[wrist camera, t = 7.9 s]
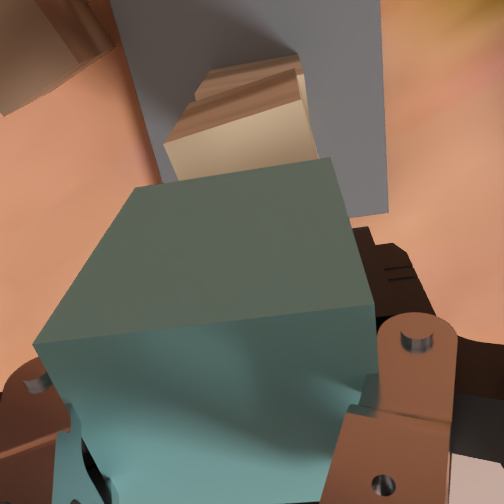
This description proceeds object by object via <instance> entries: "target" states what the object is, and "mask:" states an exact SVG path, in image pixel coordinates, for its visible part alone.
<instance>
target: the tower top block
mask: <svg viewBox="0 0 504 504" xmlns="http://www.w3.org/2000/svg"><path fill="white" fill-rule="evenodd" d="M163 145H164V147H165V150H166V152H167V154H168V157H169V159H170V161H171V164H172V166H173V168H174V171H175V173H176V175H177V178H178V180H179V181H181V180H188V179H194V178H200V177H207V176H213V175H219V174H226V173H232V172H238V171H245V170H251V169H257V168H264V167H270V166H276V165H283V164H289V163H295V162H302V161H308V160H314V159H319V157H318V153H317V149H316V146H315V142H314V138H313V134H312V131H311V127H310V123H309V120H308V116H307V112H306V108H305V105H304V101H303V97H302V94H301V90H300V86H299V82H298V79H297V75H296V71H295V68H293V69H290V70H287V71H284V72H281V73H278V74H275V75H272V76H269V77H266V78H263V79H260V80H257V81H254V82H251V83H248V84H245V85H242V86H239V87H236V88H233V89H230V90H227V91H224V92H221V93H218V94H215V95H212V96H209V97H206V98H204V99H201V100H198V101H195V102H192V103H189V105H188V106H187V108H186V109H185V111H184V112H183V114H182V115H181V117H180V118H179V120H178V122H177V123H176V125H175V126H174V128H173V129H172V131H171V132H170V134H169V135H168V137H167V138H166V140H165V141H164V143H163Z"/></svg>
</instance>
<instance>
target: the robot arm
mask: <svg viewBox="0 0 504 504" xmlns="http://www.w3.org/2000/svg"><path fill="white" fill-rule="evenodd" d="M352 231H353V234H354V237H355V241H356V244H357V247H358V251H359V254H360V257H361V261H362V264H363V267H364V271H365V274H366V277H367V281H368V284H369V287H370V291H371V294H372V297H373V301H374V304H375V318H376V334H377V349H378V364H379V373H372V374H367V375H366V378H365V382H364V386H363V389H362V393H361V397H360V400H359V403H358V405H356V404H350V405H349V407H348V409H347V411H346V414H345V417H344V420H343V424H342V427H341V430H340V434H339V437H338V441H337V444H336V447H335V451H334V454H333V458H332V461H331V464H330V468H329V471H328V475H327V478H326V481H325V485H324V488H323V492H322V495H321V498H320V501H316V502H301V503H286V504H449V495H450V480H451V465H452V453H454V454H459V455H464V456H468V457H473V458H478V459H483V460H488V461H493V462H497V463H501V465H502V467H503V468H504V345H501V344H492V343H483V342H477V341H473V340H469V339H465V338H463V337H460V336H458V335H457V334H456V331H455V330H454V328H453V327H452V326H451V325H450V324H449V323H448V322H446V321H445V320H443V319H441V318H439V317H437V316H436V314H435V312H434V310H433V308H432V306H431V304H430V301H429V299H428V297H427V295H426V293H425V291H424V289H423V287H422V284H421V282H420V280H419V279H418V276H417V274H416V272H415V269H414V268H413V265H412V263H411V261H410V259H409V257H408V254H407V253H406V252H405V251H404V250H402V249H401V248H399V247H398V246H396V245H395V244H394V243H388V244H381V245H375V243H374V241H373V238H372V235H371V233H370V230H369V227H368V226H366V227H359V228H352ZM0 504H119V494H118V492H117V490H116V488H115V486H114V484H113V482H112V480H111V479H104V478H103V476H102V474H101V473H100V471H99V469H98V467H97V465H96V463H95V461H94V459H93V457H92V456H91V454H90V452H89V450H88V448H87V446H86V444H85V442H84V441H83V439H82V437H81V421H80V419H79V417H78V415H77V413H76V411H75V409H74V407H73V405H72V403H70V404H64V403H63V401H62V399H61V397H60V395H59V394H58V392H57V390H56V388H55V386H54V384H53V382H52V380H51V379H50V377H49V375H48V373H47V371H46V369H45V367H44V365H43V363H42V362H41V360H40V358H39V357H37V358H34V359H32V360H30V361H28V362H27V363H25V364H23V365H22V366H21V367H19V368H18V369H17V370H16V371H15V372H14V373H13V374H12V375H11V376H10V377H9V378H8V380H7V381H6V383H5V385H4V388H3V392H0Z"/></svg>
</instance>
